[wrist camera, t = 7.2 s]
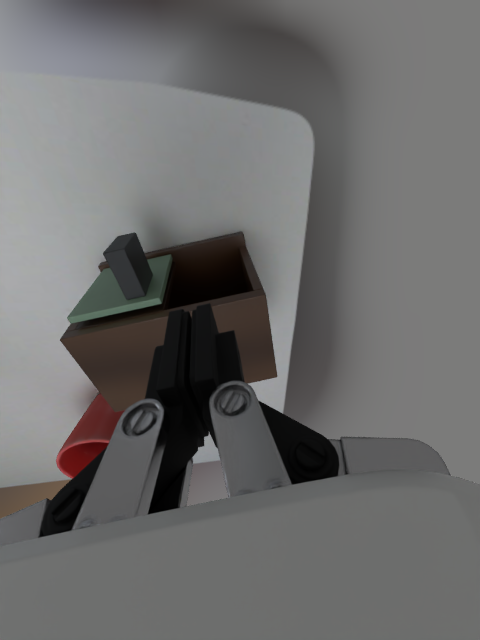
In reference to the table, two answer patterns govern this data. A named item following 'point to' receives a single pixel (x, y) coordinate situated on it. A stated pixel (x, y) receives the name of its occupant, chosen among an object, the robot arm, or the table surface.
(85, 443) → the flower pot
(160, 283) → the sliding door
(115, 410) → the cupboard
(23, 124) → the table surface
